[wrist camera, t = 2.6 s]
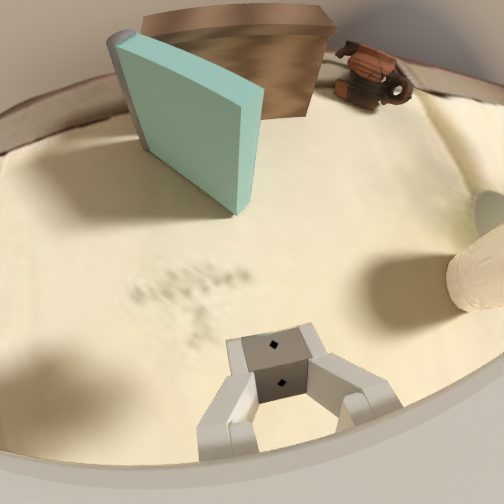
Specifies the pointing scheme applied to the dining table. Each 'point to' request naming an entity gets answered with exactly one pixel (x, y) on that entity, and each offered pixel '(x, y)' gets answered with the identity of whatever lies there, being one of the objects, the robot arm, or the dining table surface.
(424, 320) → the dining table surface
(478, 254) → the white cup
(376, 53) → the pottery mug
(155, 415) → the dining table surface
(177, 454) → the dining table surface
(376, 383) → the robot arm
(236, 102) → the teal square slab
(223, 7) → the wooden board
